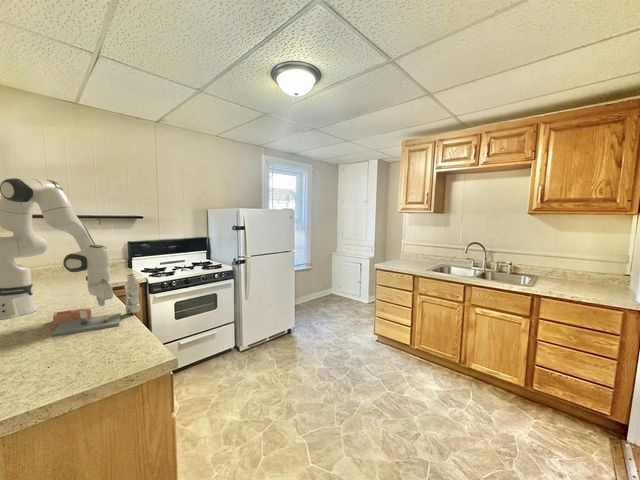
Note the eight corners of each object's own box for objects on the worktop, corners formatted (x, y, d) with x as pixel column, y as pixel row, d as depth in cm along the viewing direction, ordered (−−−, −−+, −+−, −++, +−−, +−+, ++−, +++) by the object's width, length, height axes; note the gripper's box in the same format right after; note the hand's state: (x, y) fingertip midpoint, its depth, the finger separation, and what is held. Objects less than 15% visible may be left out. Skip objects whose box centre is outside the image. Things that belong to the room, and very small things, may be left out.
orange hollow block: (53, 325, 124) (52, 316, 124) (54, 320, 129) (54, 312, 129) (91, 318, 132) (90, 310, 132) (91, 314, 137) (90, 306, 137)
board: (52, 337, 112) (52, 333, 112) (61, 324, 124) (61, 321, 124) (119, 326, 124) (118, 323, 124) (120, 316, 136) (120, 313, 136)
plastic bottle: (124, 316, 136) (122, 276, 134) (126, 312, 142) (125, 274, 140) (139, 314, 139) (138, 275, 137) (141, 310, 145) (139, 273, 143)
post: (79, 324, 121) (78, 311, 121) (82, 322, 123) (81, 309, 123) (106, 323, 124) (105, 310, 123) (108, 321, 126) (108, 308, 125)
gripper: (116, 279, 131) (117, 307, 132) (99, 274, 142) (101, 300, 143) (100, 281, 126) (101, 311, 127) (84, 276, 137) (85, 303, 138)
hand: (101, 305), depth 135 cm, fingers closed
